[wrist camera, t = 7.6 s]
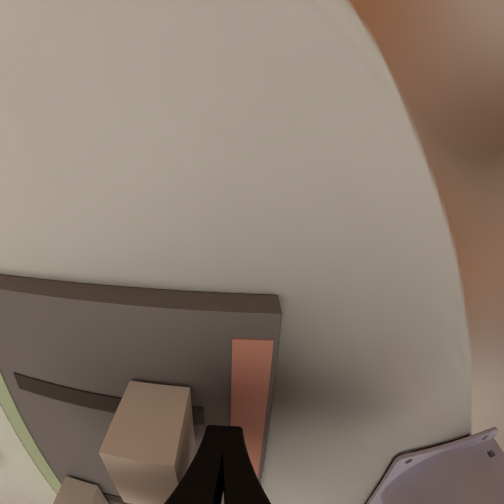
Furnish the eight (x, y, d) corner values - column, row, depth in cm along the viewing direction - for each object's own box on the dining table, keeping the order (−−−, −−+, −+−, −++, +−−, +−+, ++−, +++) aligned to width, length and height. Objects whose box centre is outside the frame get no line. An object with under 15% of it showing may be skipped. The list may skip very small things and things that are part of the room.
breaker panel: (277, 295, 12) (282, 315, 10) (246, 554, 21) (246, 566, 19) (-26, 270, 11) (-45, 282, 10) (103, 534, 20) (100, 545, 18)
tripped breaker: (190, 387, 11) (174, 466, 7) (195, 443, 12) (185, 512, 8) (130, 380, 11) (98, 452, 7) (143, 436, 12) (123, 502, 8)
